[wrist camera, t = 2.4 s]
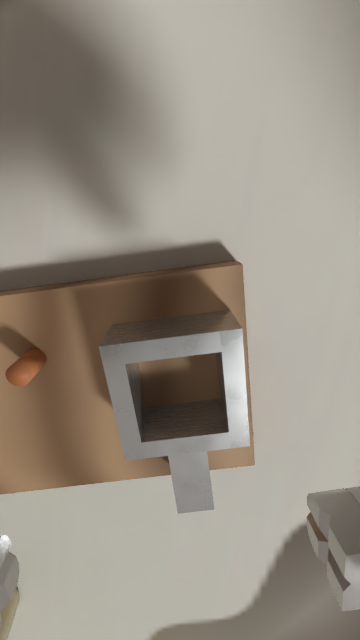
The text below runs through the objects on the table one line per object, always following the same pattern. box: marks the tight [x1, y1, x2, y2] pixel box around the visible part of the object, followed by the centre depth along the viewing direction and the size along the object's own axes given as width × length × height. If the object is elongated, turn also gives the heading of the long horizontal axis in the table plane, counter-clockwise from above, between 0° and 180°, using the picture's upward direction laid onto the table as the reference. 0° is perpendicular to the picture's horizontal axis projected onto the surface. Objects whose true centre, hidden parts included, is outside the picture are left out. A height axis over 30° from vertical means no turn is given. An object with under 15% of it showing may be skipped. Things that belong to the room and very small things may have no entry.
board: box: [0, 261, 255, 494], centre depth 16 cm, size 22×13×6 cm, turn 97°
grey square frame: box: [99, 309, 250, 513], centre depth 16 cm, size 10×6×3 cm, turn 7°
